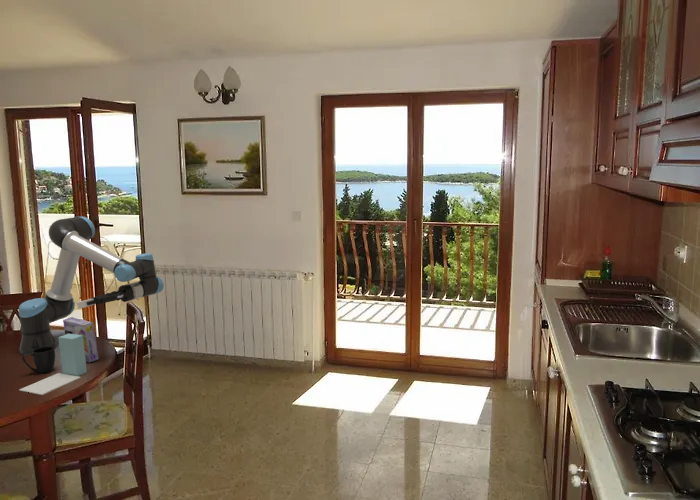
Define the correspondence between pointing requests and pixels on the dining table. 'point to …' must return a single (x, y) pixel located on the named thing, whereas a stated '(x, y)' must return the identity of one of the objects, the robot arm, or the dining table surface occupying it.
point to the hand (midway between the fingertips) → (78, 305)
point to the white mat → (49, 384)
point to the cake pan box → (88, 333)
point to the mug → (42, 359)
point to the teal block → (72, 354)
